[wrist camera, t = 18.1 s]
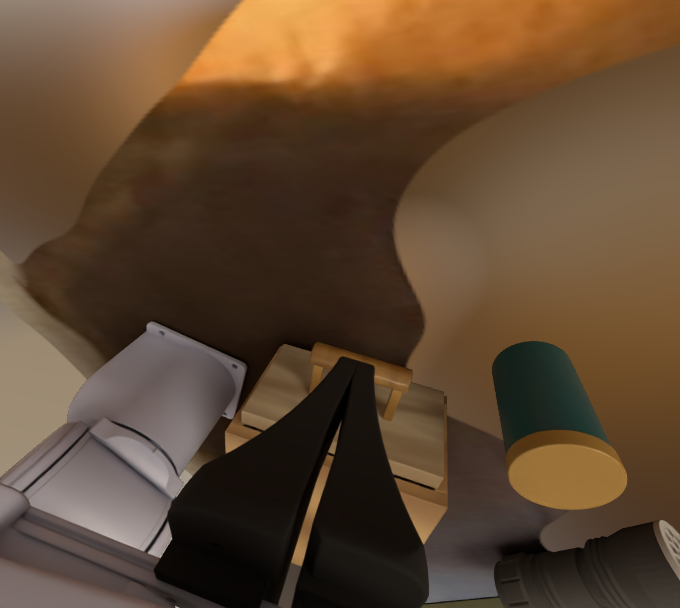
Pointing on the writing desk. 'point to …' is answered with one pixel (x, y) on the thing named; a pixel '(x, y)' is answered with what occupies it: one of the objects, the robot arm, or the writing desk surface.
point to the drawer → (391, 401)
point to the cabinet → (419, 500)
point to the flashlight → (597, 572)
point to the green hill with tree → (469, 604)
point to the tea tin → (553, 431)
